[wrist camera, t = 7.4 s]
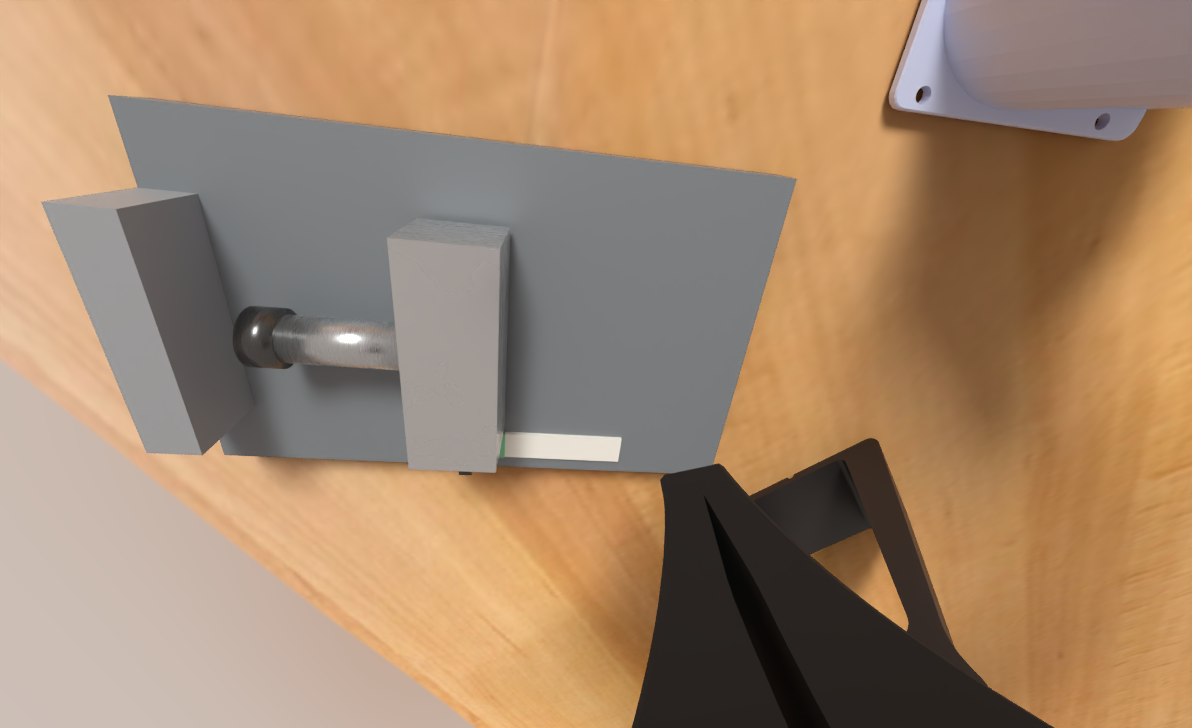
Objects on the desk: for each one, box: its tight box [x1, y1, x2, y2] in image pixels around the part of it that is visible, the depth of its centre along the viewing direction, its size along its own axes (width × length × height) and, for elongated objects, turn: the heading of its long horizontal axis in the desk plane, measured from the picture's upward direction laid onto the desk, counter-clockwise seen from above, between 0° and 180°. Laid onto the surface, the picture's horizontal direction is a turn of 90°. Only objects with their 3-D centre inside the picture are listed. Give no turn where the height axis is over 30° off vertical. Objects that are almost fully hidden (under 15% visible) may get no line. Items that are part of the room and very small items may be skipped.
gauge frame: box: [41, 95, 796, 473], centre depth 17 cm, size 21×13×4 cm, turn 84°
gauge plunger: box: [233, 218, 510, 475], centre depth 16 cm, size 8×10×3 cm
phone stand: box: [749, 438, 987, 686], centre depth 20 cm, size 9×6×12 cm, turn 122°
